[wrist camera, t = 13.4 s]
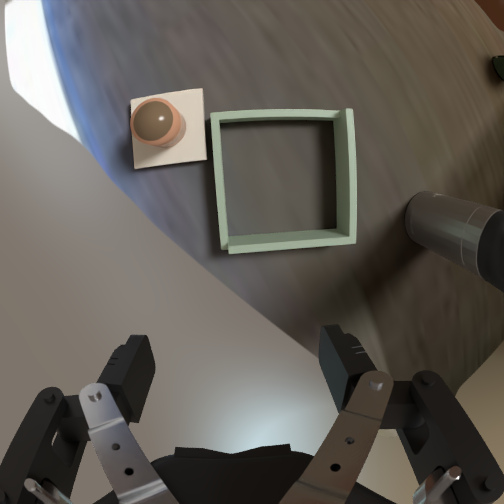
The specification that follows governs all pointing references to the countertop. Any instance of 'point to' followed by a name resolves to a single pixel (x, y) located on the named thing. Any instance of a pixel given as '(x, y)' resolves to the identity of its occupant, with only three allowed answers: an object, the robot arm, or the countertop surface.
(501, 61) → the character mug
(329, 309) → the countertop surface
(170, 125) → the terracotta pot
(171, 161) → the cream tile
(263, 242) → the frame
